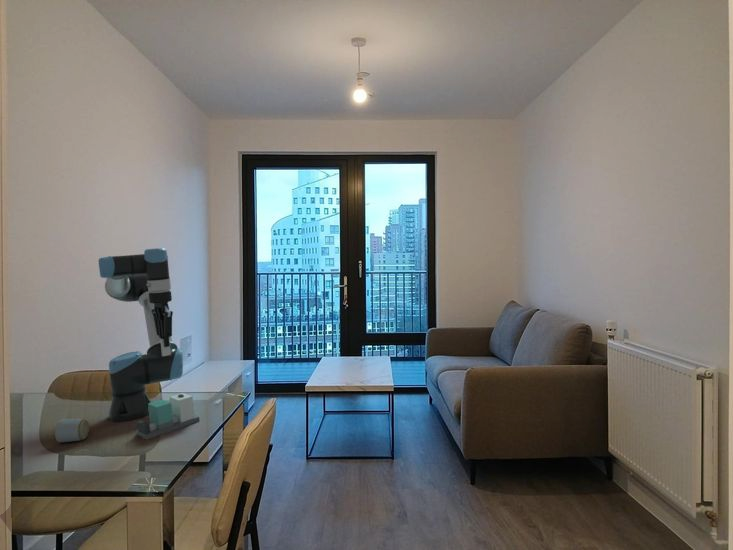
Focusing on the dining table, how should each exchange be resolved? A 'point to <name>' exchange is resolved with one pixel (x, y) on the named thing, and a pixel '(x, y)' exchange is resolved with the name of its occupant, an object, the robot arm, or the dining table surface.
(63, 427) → the ceramic mug
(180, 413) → the board
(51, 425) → the dining table surface
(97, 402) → the dining table surface
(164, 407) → the block
